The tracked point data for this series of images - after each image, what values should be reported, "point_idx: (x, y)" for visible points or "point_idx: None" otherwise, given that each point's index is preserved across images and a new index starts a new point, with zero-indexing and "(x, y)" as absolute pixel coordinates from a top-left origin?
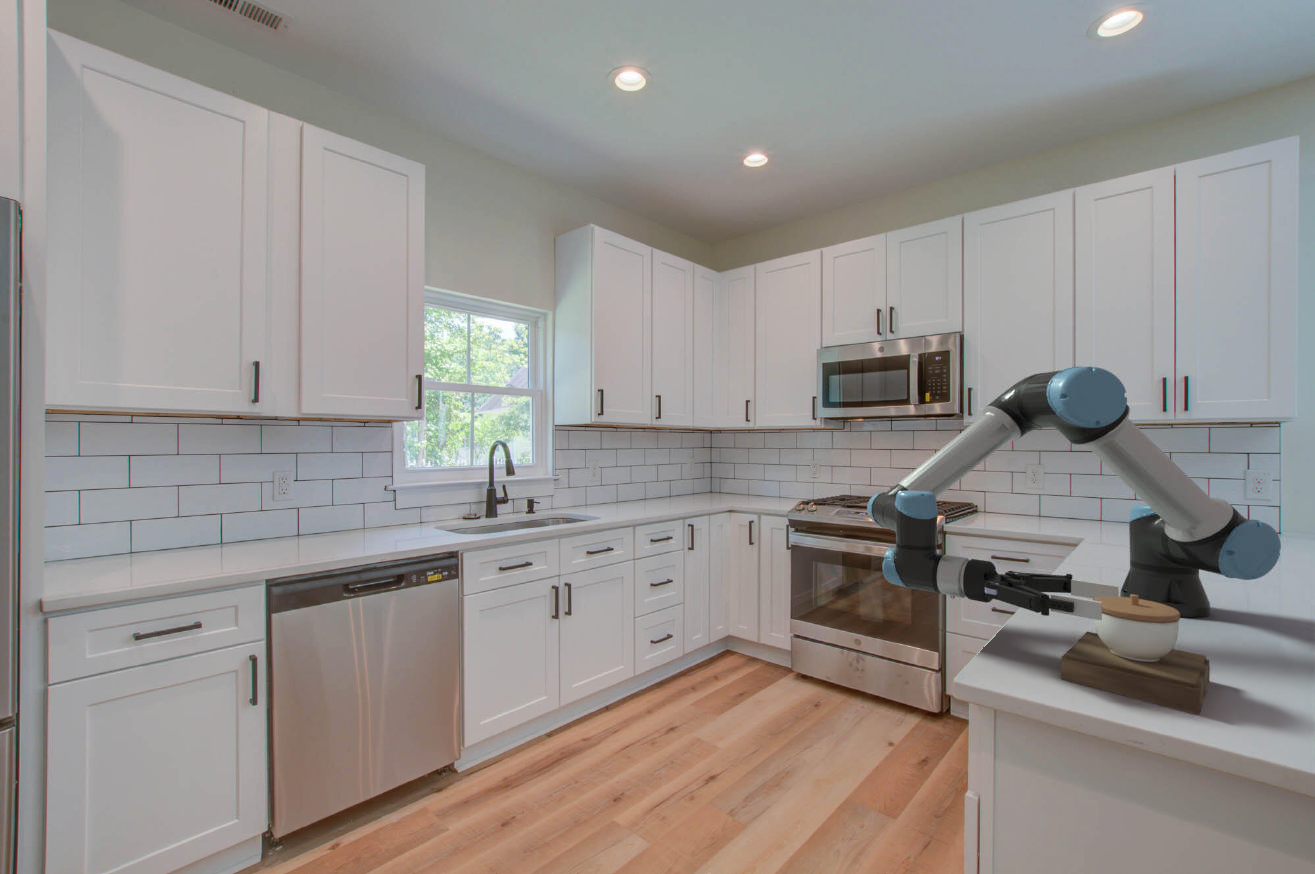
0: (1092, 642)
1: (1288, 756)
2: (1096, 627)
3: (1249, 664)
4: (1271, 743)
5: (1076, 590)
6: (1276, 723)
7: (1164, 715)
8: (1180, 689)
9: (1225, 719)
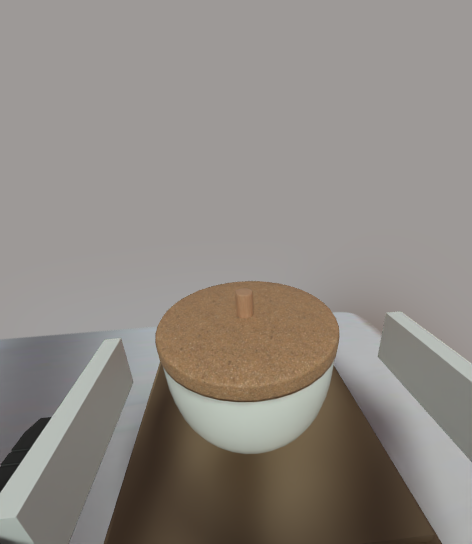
0: (231, 507)
1: (335, 317)
2: (306, 423)
3: (59, 362)
4: None
5: (63, 515)
6: None
7: (362, 381)
8: None
9: None
